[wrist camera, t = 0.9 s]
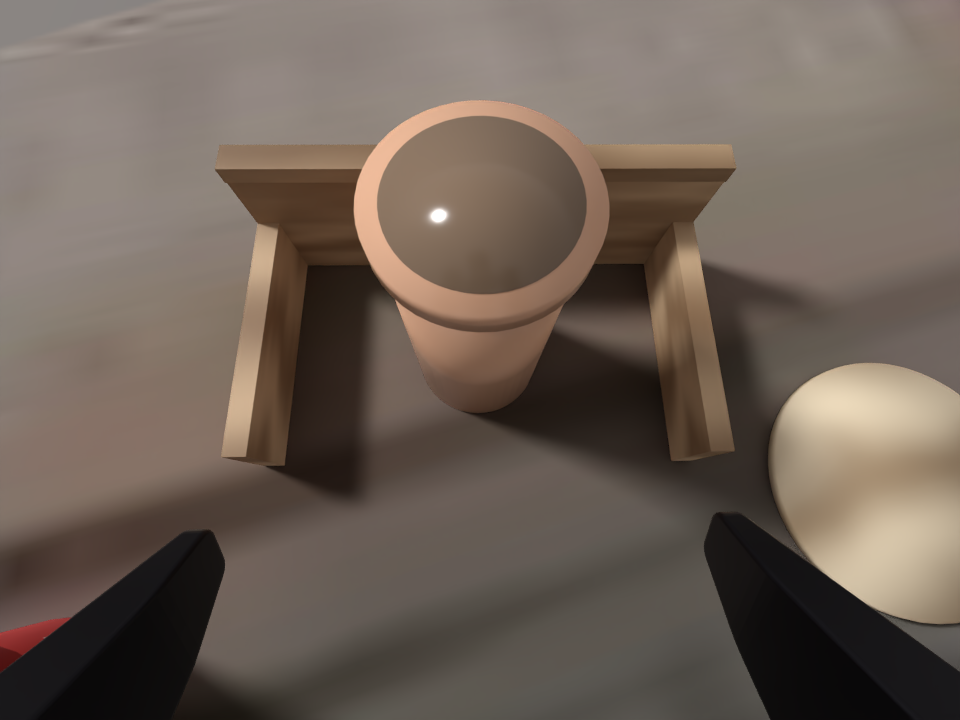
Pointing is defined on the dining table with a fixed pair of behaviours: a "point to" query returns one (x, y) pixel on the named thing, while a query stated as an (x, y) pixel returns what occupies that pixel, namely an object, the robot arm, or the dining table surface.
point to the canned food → (24, 640)
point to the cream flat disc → (874, 486)
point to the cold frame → (334, 241)
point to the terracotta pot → (480, 240)
